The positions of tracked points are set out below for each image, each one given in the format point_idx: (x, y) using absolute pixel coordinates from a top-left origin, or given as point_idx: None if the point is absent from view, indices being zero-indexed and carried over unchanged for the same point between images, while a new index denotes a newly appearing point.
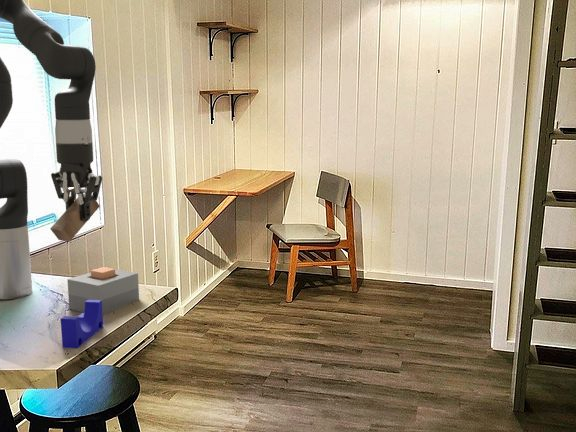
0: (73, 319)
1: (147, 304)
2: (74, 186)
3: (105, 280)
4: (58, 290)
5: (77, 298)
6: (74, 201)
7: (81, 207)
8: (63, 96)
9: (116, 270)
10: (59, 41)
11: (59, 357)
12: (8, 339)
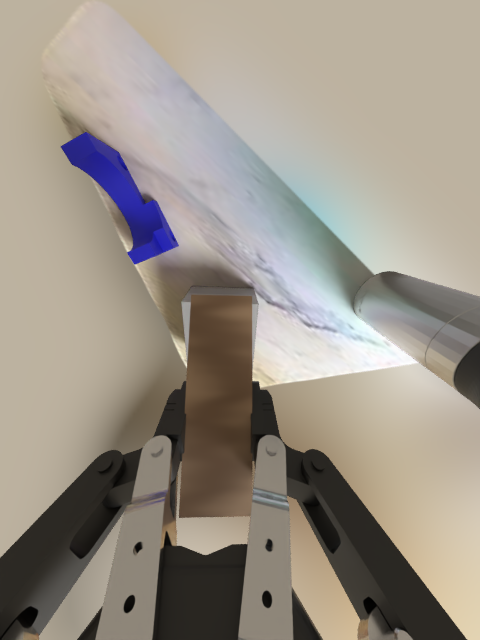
0: (64, 145)
1: (180, 346)
2: (156, 564)
3: None
4: (325, 334)
5: (235, 293)
6: (250, 457)
7: (170, 422)
8: None
9: None
10: None
11: (79, 109)
12: (222, 129)
